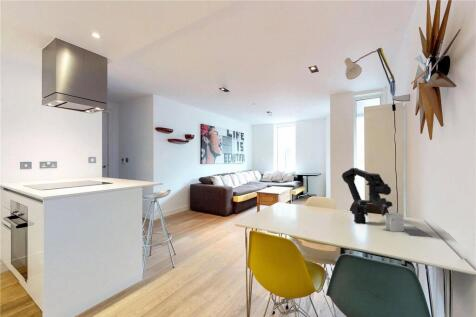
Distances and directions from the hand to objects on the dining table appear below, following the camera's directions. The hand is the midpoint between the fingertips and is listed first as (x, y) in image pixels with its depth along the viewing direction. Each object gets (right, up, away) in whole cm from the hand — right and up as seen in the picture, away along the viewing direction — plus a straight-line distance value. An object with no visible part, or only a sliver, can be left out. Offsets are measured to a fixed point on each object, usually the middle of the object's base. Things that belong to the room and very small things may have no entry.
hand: (374, 215), depth 137 cm
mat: (+20, -8, -6) cm, 23 cm away
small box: (+11, -9, -3) cm, 14 cm away
